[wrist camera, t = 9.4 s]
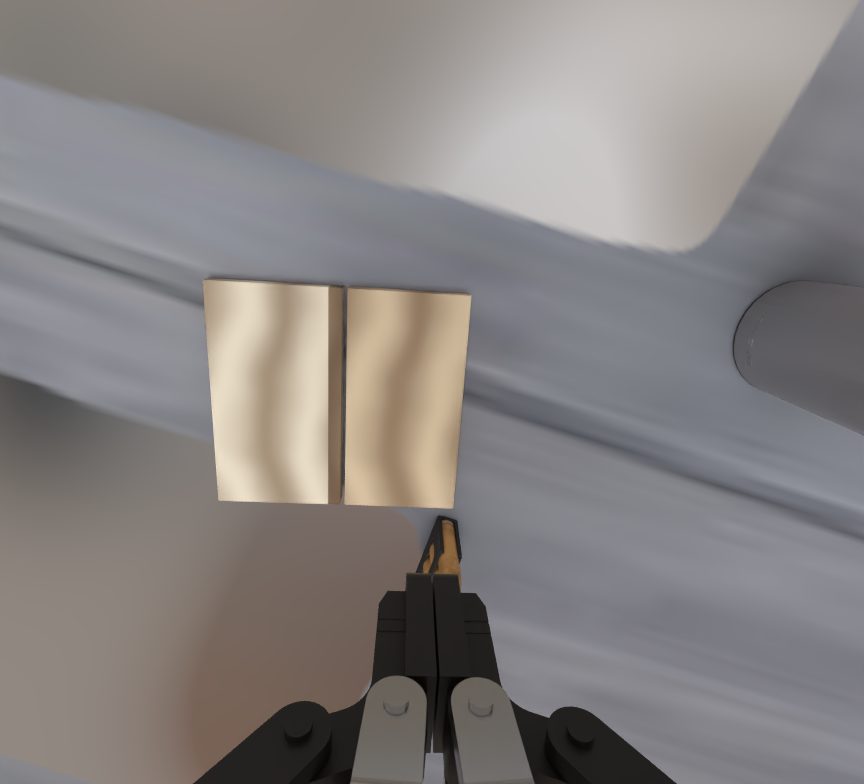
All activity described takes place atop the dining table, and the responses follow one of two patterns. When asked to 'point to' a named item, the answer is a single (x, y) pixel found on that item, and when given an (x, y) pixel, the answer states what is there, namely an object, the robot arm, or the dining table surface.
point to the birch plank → (276, 389)
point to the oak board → (404, 395)
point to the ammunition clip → (442, 549)
